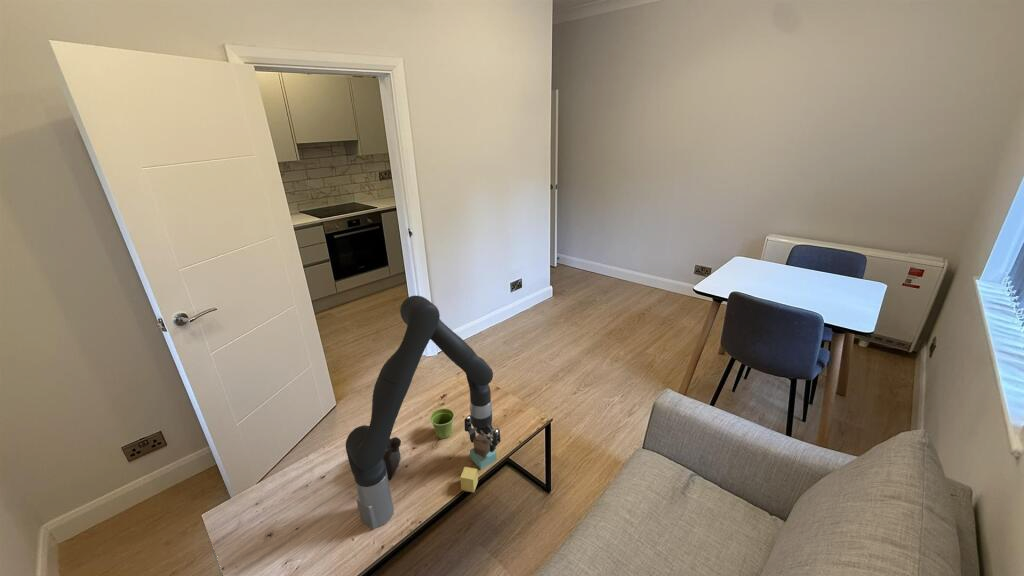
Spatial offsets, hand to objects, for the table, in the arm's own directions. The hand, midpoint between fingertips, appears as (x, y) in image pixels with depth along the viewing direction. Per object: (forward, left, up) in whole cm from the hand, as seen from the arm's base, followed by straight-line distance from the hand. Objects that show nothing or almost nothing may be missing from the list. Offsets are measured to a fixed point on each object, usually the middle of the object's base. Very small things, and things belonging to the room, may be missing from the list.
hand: (482, 445), depth 149 cm
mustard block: (-12, -3, -6) cm, 14 cm away
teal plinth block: (0, 0, -7) cm, 7 cm away
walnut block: (0, 0, -3) cm, 3 cm away
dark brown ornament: (-22, +26, -7) cm, 35 cm away
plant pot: (+2, +21, -6) cm, 22 cm away
